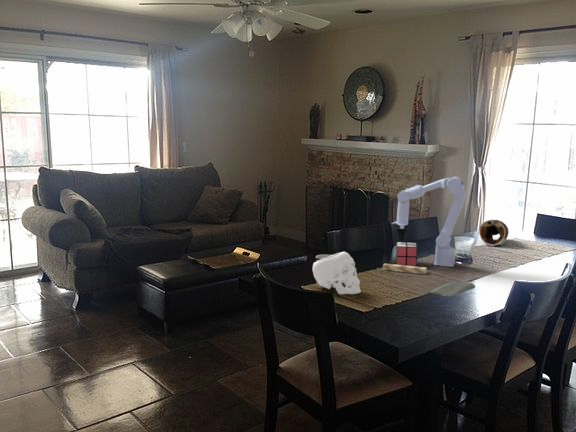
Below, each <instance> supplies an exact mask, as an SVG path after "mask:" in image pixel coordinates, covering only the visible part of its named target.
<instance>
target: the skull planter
mask: <svg viewBox="0 0 576 432" xmlns="http://www.w3.org/2000/svg"><path fill="white" fill-rule="evenodd" d="M330 255H331V256H328V257H326V258H323V259H321V260H319V261H316V260H315V262H313V264H312V273H313V277H314V279H315V281H316V283H317V284H318V285H319V286H320V287H322V288H323V289H324V288H325V289H328V290H330V289H331V288H333V289H335V290H336V292H337V293H338V295H357V294H360V293H362V290H361V287H360V284H361V281H360V278H358V274H357V268H356V267H355V266H356V263H355V261H354V258H353V257H352V256H351V255H350V254H349V253H348V252H346V251H342V252H337V253H334V254H330ZM343 284H344V285H345V286H343Z"/></svg>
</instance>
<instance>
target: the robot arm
mask: <svg viewBox="0 0 576 432" xmlns="http://www.w3.org/2000/svg"><path fill="white" fill-rule="evenodd" d="M439 188H440V189H445V190H446V189H447V190H448V191H450V192H451V193H452V196H453V197H454V200H453V203H452V205H451V207H450V210H449V212H448V216H447V217H446V221H445V223H444V225H443V228H442V229H441V231H440V233H439V235H438V236H436V239H435V244H436V245H435V254H434V262H433V265H432V266H438V265H439V267H440V266H441V267H452V268H454V265H455V263H456V258H455V257H456V248H455V247H452V246H451V244H450V243H451V242H452V234H453V230H454V227H455V225H456V223H457V221H458V218H459V217H460V216H459V215H460V213H461V212H462V208H463V206H464V203H465V200H466V198H467V194H466V189H465V183H464V182H463V180H462V178H461V177H459V176H457V175H456V176H455V175H454V176H452V177H446V178H442V179H439V180H436V181H433V182H431V183H429V184H425V185H421V184H415V185H414V186H412V187H409V188H408V187H407V188H405V189H404V190H401V191H399V192H398V194H397V196H396V197H397V201H398V202H397V210H396V211H397V213H396V221H394V222H393V224H396V227H395V229H396V230H395V231H396V232H397V239H398V242H402V243H404V241H405V236H406V233H407V231H408V226H409V216H410V215H409V213H410V200H415V199H417V198H420V197H423V196H425V194H426V193H427V192H430V191H433V190H435V189H436V190H437V189H439Z"/></svg>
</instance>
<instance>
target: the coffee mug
mask: <svg viewBox="0 0 576 432" xmlns="http://www.w3.org/2000/svg"><path fill="white" fill-rule="evenodd" d="M331 255H332V254H318V255H316V256H315V262H316V261H319V260H321V259H323V258H326V257H328V256H331Z"/></svg>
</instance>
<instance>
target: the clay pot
mask: <svg viewBox="0 0 576 432" xmlns="http://www.w3.org/2000/svg"><path fill="white" fill-rule="evenodd" d="M478 230H479V232H478V233H479V237H480V239H481V240H482V242H483V243H484V244H485V245H488V246H493V247H494V246H495V247H497V246H498V247H500V246H503V245H504V244H505V243H506V242H507V240H508V239H507V238H508V236H509V233H510V232H509V228H508V225H506V223H504V222H503V221H501V220H499V219H489V220H486V221H483V223H481V225H480V226H479V229H478ZM497 235H499V237H498V239H497V240H494V237H493V236H497Z"/></svg>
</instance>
